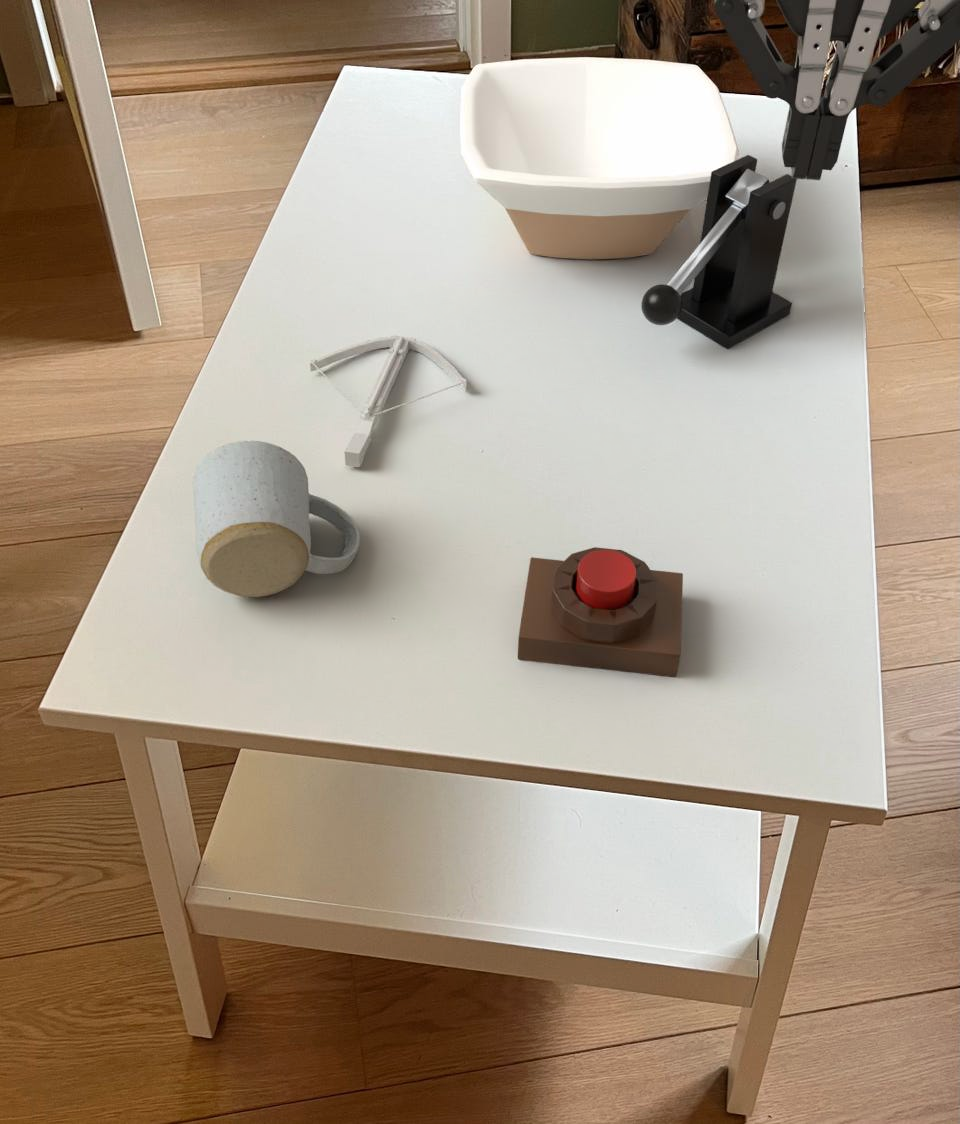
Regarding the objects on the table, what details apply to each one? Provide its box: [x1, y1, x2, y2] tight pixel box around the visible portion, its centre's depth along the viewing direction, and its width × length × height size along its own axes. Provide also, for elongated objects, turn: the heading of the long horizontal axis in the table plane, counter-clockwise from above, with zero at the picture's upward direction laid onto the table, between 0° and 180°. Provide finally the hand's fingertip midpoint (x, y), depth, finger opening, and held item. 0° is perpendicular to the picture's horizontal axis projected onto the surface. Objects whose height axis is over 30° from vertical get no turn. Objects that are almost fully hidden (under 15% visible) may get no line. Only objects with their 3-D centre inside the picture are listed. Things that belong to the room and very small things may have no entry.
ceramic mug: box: [192, 440, 361, 598], centre depth 78 cm, size 11×8×8 cm
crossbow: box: [309, 334, 468, 468], centre depth 92 cm, size 16×13×2 cm
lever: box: [640, 169, 770, 326], centre depth 94 cm, size 14×3×3 cm
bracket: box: [676, 154, 798, 350], centre depth 97 cm, size 8×7×13 cm
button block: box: [517, 546, 684, 678], centre depth 75 cm, size 10×7×4 cm
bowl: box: [459, 56, 740, 260], centre depth 108 cm, size 24×25×11 cm
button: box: [576, 550, 636, 610], centre depth 74 cm, size 4×4×2 cm
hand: (805, 172), depth 64 cm, fingers closed
